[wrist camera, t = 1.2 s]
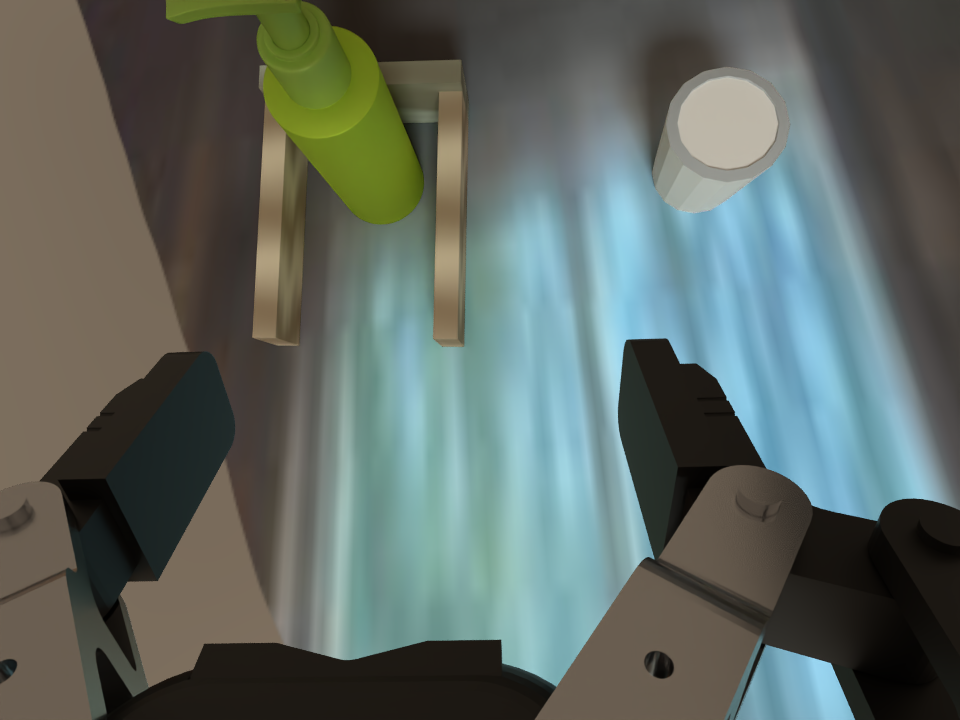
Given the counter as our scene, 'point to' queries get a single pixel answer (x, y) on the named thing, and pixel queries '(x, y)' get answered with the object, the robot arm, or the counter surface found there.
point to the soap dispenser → (329, 103)
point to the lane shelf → (280, 248)
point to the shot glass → (718, 138)
